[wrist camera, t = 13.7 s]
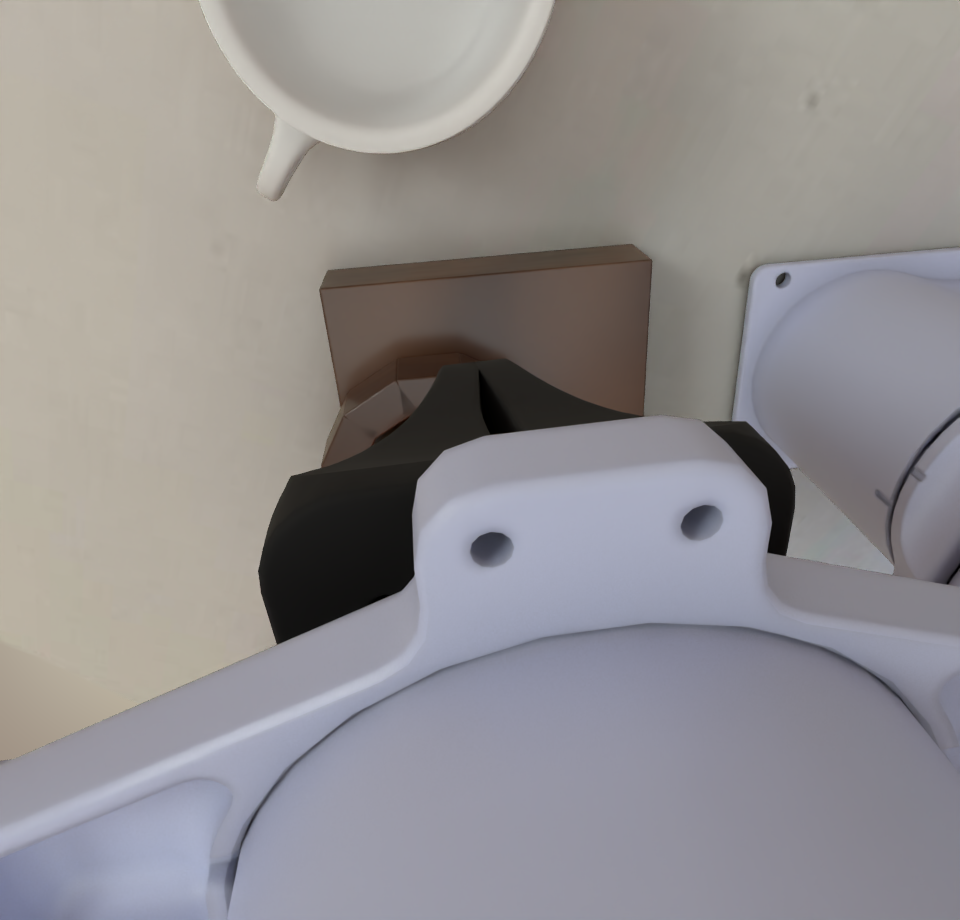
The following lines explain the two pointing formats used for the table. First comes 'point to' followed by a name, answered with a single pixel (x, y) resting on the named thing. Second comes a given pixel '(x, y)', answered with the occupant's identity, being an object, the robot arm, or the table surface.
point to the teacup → (373, 69)
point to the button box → (484, 331)
